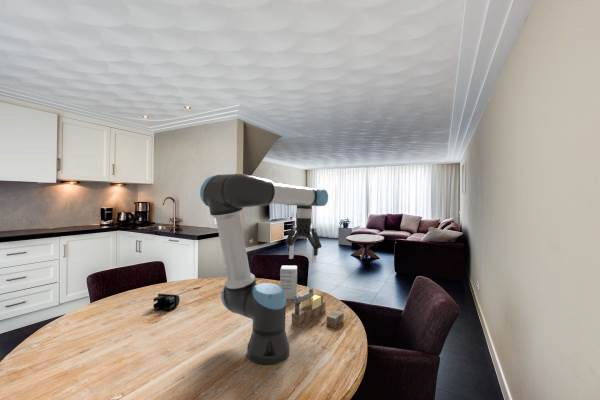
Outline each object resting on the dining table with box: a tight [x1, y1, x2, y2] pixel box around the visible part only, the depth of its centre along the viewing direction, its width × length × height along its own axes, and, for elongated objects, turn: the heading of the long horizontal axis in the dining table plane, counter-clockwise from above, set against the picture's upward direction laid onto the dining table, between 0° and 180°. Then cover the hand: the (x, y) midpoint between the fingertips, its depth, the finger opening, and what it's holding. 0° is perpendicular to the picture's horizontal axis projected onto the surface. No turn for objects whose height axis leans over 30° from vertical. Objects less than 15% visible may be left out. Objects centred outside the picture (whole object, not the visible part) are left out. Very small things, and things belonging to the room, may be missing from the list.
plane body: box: [291, 293, 327, 328], centre depth 130 cm, size 22×4×9 cm, turn 144°
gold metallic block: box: [300, 294, 321, 310], centre depth 131 cm, size 8×6×4 cm
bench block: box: [326, 310, 345, 328], centre depth 125 cm, size 8×4×4 cm, turn 144°
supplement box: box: [279, 264, 298, 300], centre depth 158 cm, size 10×9×17 cm
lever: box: [293, 287, 315, 305], centre depth 126 cm, size 14×3×4 cm, turn 144°
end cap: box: [152, 293, 181, 313], centre depth 138 cm, size 10×7×7 cm
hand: (302, 260), depth 138 cm, fingers open, 13 cm apart
